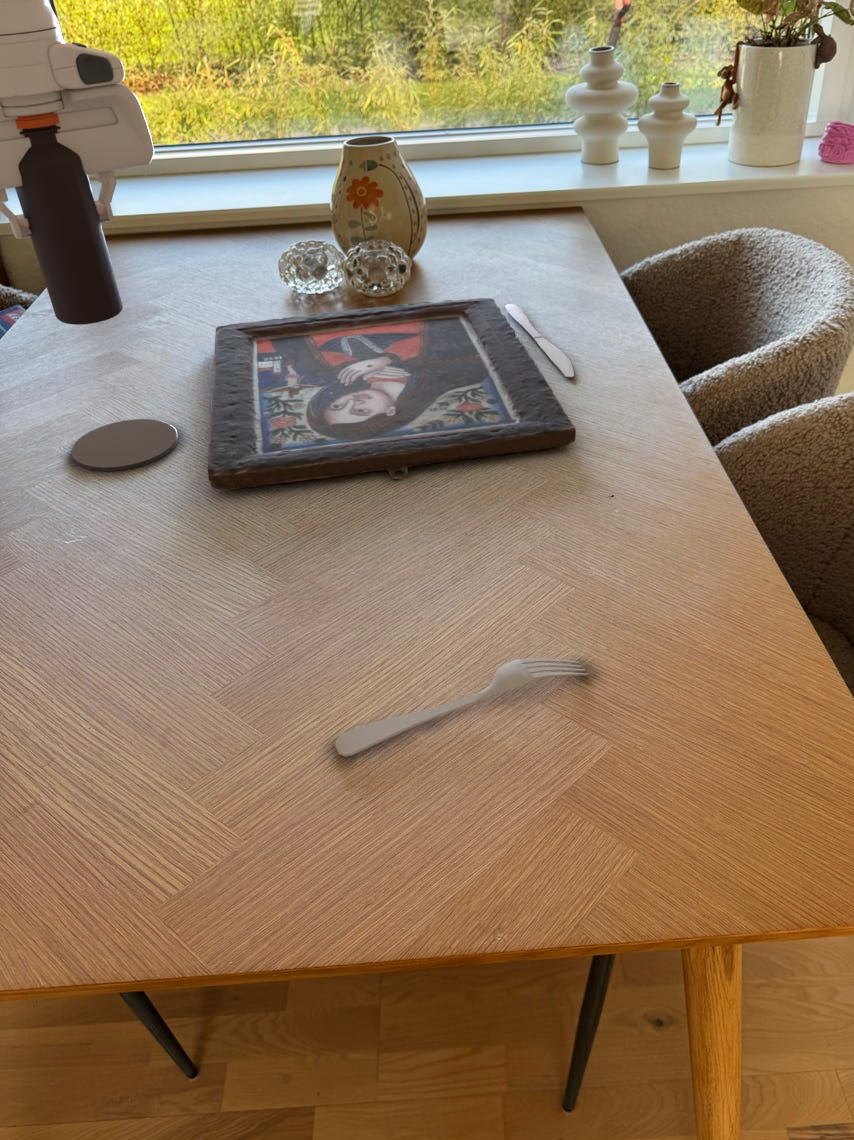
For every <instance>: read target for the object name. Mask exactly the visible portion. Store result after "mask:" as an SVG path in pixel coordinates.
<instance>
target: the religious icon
mask: <svg viewBox="0 0 854 1140" xmlns="http://www.w3.org/2000/svg"><path fill="white" fill-rule="evenodd" d="M213 353H214V354H213V374H212V387H211V407H210V422H209V425H210V426H209V444H208V451H207V453H208V454H207V474H208V481H209V482H210V487H211V489H215V490H224V491H229V490H237V489H245V488H253V487H261V486H268V485H275V484H277V485H278V484H287V483H293V482H295V483H296V482H303V481H308V480H316V479H327V478H334V477H335V478H336V477H342V476H348V475H356V474H361V473H362V474H363V473H369V472H380V471H388V474H389V476H390V478H392V479H394V480H397V479H398V480H399V479H402V478H404V477H406V476H407V474H408V472H409V471H408V468H410V467H418V466H424V465H431V464H438V463H447V462H453V461H459V460H466V459H473V458H481V457H488V456H489V457H490V456H497V455H503V454H511V453H512V454H513V453H516V454H517V453H522V452H531V451H539V450H545V449H546V450H547V449H553V448H557V447H564V446H567V445H569V444H572V443H574V442H575V441H576V434H577V433H576V432H577V430H576V427H575V426H574V424H573V422H572V421H571V419H570V418H569V417H568V415H567V413H566V412H565V410H564V408H563V406H562V404H561V402H560V401H559V400H558V398H557V397H556V395H555V394H554V391H553V389H552V387H551V386H550V385H549V383H548V381H547V380H546V378H545V376H544V374H543V373H542V372H541V370H540V368H539V367H538V364H536V362H535V360H534V359H533V358H532V356H531V354H530V353H529V351H528V349H527V348H526V347H525V346H524V344H523V342H521V341H520V337H517V335H516V332H515V329H514V327H511V324H510V322H509V321H508V320H507V317H506V316H505V314H504V313H502V310H501V308H500V307H499V306H498V305H497V303H496V302H495V299H494V298H488V297H479V298H468V299H455V300H454V299H446V300H442V301H437V302H431V301H422V302H416V303H415V302H413V303H407V304H392V305H391V304H389V305H383V306H372V307H366V308H365V307H364V308H358V309H349V310H341V311H334V312H322V313H314V314H308V315H301V316H290V317H282V318H272V319H265V320H258V321H257V320H256V321H249V322H247V321H245V322H238V323H229V324H226V325H218V326H216V327H215V336H214V351H213ZM398 471H399V472H400V471H401V472H402V473H403V474H402V475H401V476H399V475H398V476H397V475H395V473H397V472H398Z"/></svg>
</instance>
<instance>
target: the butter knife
mask: <svg viewBox="0 0 854 1140" xmlns="http://www.w3.org/2000/svg"><path fill="white" fill-rule="evenodd" d="M504 308H505V310H506V311H507V313H509V314H510V316H511V317H512V318H513V319H514V320H515V321H516V322H517V323H518V324H519V325H520V326H521V327H522V328H523V329H524V330H525V331H526V332H527V333H528V334H529V335H530V336H531V337H532V338H533V339H534V340H535V342H536V343H537V344H538V346H539V347H540V349H542V351H543V352H544V353H545V354H546V356H547V357H548V358H549V359H550V361H552V362H553V364H554V365H556V367H557V368H558V369H559V370H560V372H561V373H562V374H563V375H564V376H565V377H566V378H574V377H575V373H574V372H575V371H574V367H573V364H572V361H571V359H569V357H568V356H566V354H564V353H563V351H561V350H560V348H558V347H557V346H556V345H554V344H553V343H551V342H549V341H548V340H547V339H546V338H545V337H543V336H542V335H541V334H540V333H539V332H538V331H537V330H536V329H535V328H534V326H533V324H532V323H531V321H530V320H529V317H527V315H526V314H525V312H524V311H523V310H522V309H521V308H520V306H518V305H516V304H515V303H508V304H506V305H505V306H504Z"/></svg>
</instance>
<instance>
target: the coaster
mask: <svg viewBox="0 0 854 1140" xmlns="http://www.w3.org/2000/svg"><path fill="white" fill-rule="evenodd" d="M178 442H179V434H178V431H177V429H176V427H174V426H173V425H172V424H170V423H168V422H167V421H166V422H165V421H162V420H159V419H150V418H136V419H127V420H120V421H115V422H112V423H108V424H105V425H102V426H100V427H97V428H94V429H93V430H90V431H89V432H86V433H85V434H84V435H82V436H81V437H80V438H78V439H77V441H75V442H74V444H73V445H72V448H71V456H72V459H73V462H74V463H76V465H78V466H80V467H82V468H83V469H87V470H91V471H97V472H117V471H126V470H131V469H135V468H140V467H143V466H145V465H149V464H151V463H153V462H156V461H158V460H160V459H162V458H163V457H165V456H167V455H168V454H170V453H171V452H172V451H173V450H174V449H175V447H176V446H177V444H178Z"/></svg>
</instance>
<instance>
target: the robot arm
mask: <svg viewBox="0 0 854 1140" xmlns="http://www.w3.org/2000/svg"><path fill="white" fill-rule="evenodd" d="M125 77H126V73H125V68H124V64H123V62H122V60H121V59H120V58H119V57H118V56H117V55H115V54H113V53H110V52H109V51H105V50H102V49H99V48H93V47H90V46H87V45H86V44H83V43H81V42H74V41H72V42H67V41H65V39H64V38H63V35H62V30H61V26H60V24H59V20H58V17H57V16H56V14H55V12H54V10H53V8H52V6H51V4H50V1H49V0H0V212H1V213H2V214H3V215H4V216H5V217H6V218H7V219H8V222H9V225H10V228H11V231H12V233H13V235H14V238H16V239H17V240H20V239H24V238H31V237H30V236H32V231H31V229H30V228H29V222H28V219H27V217H25V216H24V214H23V213H21V214H14V213H13V211H12V210H10V209H9V208H8V206H7V205H6V204H5V203H6V202H7V203H8V202H9V198H8V194H7V191H6V190H7V189H13V188H15V187H19V186H22V178H21V175H20V172H19V168H18V166H19V163H20V161H21V160H22V158H23V156H24V155H25V153H26V152H27V150H28V149H29V148H30V147H31V142H30V139H29V137H25V136H24V134H20V132H21V131H23V130H22V129H17V126H16V122H15V121H18V120H16V119H18V118H17V116H29V115H38V114H44V113H50V112H53V113H54V112H55V114H57V115H58V118H59V122H60V123H58V124H55V125H56V126H59V127H60V128H61V129H58V130H57V132H58V133H55V135H56V139H57V142H58V143H60V144H62V145H64V146H66V147H68V148H69V149H71V150H72V151H74V152H75V153H77V154H78V155H79V156H80V158H81V161H82V165H83V168H84V171H85V174H86V175H88V176H90V175H94V177H95V180H96V181H97V182H99V183H100V184H101V186H100V189H99V194H98V200H95V204H96V209H97V212H98V216H99V220H100V223H101V224H103V223H110V222H115V217H114V213H113V209H112V206H111V203H112V200H113V197H114V194H115V189H116V186H117V179H116V176H115V171H120V170H126V169H131V168H132V169H133V168H137V167H138V168H139V167H145V166H149V165H150V164H151V162H152V160H153V157H154V155H155V146H154V143H153V139H152V135H151V132H150V129H149V126H148V122H147V119H146V116H145V114H144V110H143V108H142V106H141V102H140V101H139V99H138V97H137V95H136V93H134V91H133V90H131V88H129V87H128V86H127V85H125V84H123V83H122V82H124V80H125Z"/></svg>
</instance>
